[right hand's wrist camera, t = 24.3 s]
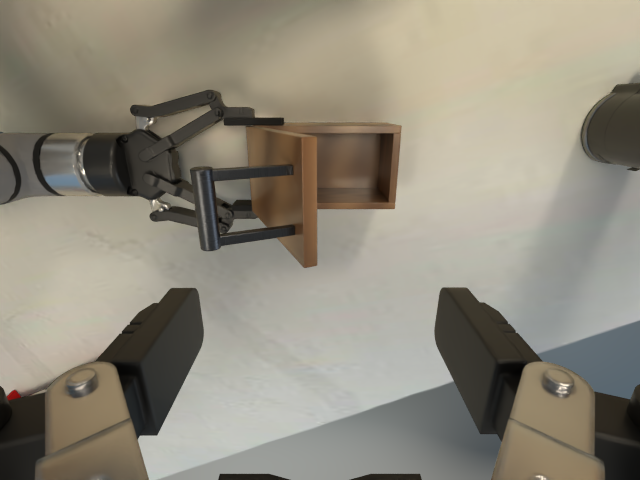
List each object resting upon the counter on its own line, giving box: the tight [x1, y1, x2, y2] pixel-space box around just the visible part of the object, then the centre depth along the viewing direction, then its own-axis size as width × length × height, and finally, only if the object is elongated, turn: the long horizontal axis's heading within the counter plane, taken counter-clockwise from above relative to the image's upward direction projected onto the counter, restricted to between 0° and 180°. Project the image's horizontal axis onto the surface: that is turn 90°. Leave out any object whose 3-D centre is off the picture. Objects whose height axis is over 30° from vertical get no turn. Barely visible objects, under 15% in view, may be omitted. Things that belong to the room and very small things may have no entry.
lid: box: [190, 126, 317, 268], centre depth 30 cm, size 17×9×8 cm
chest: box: [254, 123, 401, 209], centre depth 43 cm, size 16×9×9 cm, turn 90°
